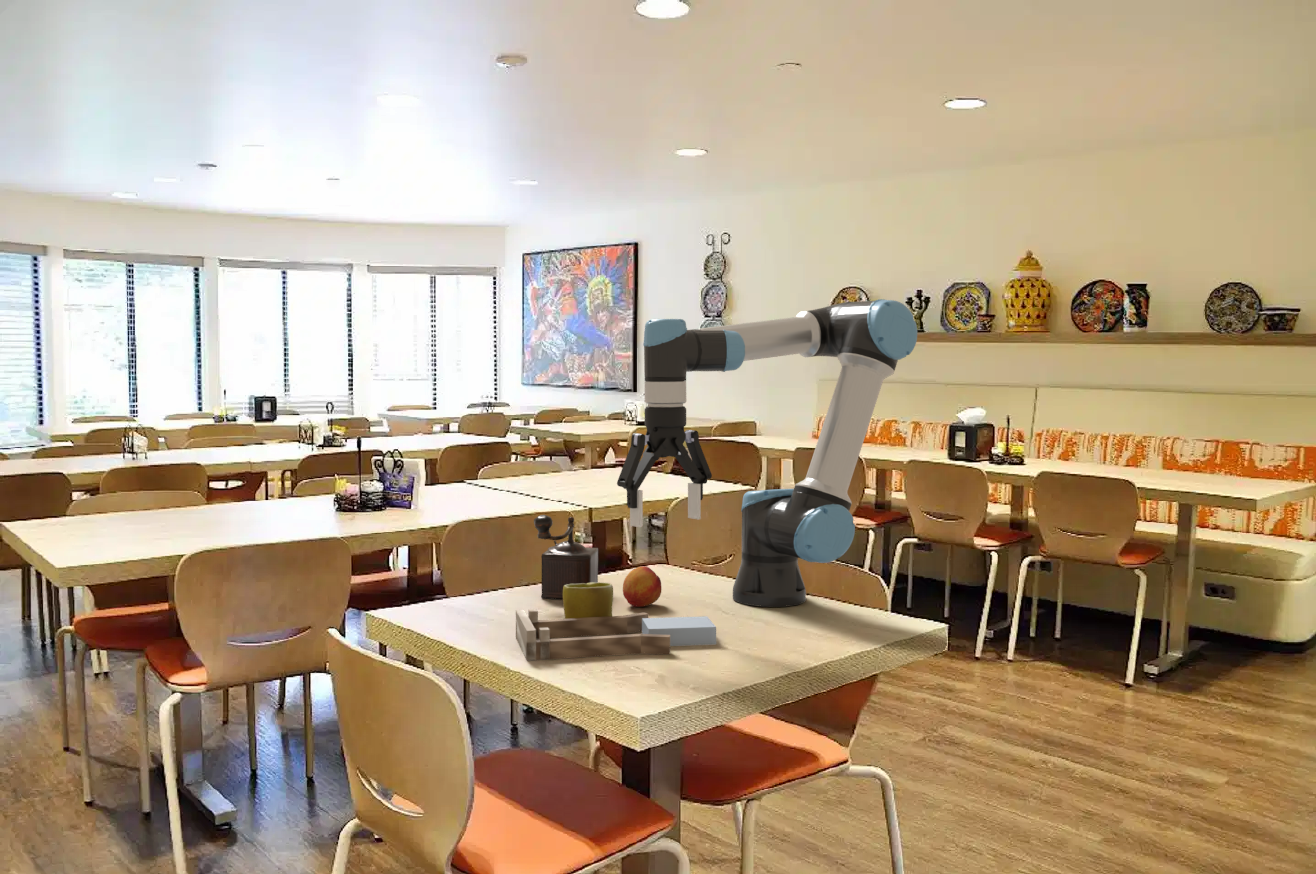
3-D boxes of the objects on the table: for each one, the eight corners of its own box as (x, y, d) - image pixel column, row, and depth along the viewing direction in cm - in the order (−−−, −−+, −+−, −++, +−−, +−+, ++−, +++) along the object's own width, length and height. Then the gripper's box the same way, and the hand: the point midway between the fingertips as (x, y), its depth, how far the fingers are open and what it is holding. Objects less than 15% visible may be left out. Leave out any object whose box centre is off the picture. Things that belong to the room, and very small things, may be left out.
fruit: (666, 609, 218) (666, 570, 217) (627, 611, 216) (627, 571, 215) (657, 601, 226) (657, 562, 225) (618, 602, 224) (618, 564, 223)
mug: (613, 626, 196) (600, 572, 198) (561, 640, 199) (548, 587, 200) (632, 623, 208) (619, 572, 210) (583, 637, 210) (570, 586, 212)
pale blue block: (706, 635, 200) (707, 616, 200) (716, 646, 192) (716, 626, 192) (641, 637, 198) (641, 618, 198) (648, 649, 190) (648, 629, 190)
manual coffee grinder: (549, 588, 237) (549, 506, 236) (599, 590, 236) (599, 507, 234) (530, 604, 222) (530, 516, 221) (584, 606, 220) (584, 517, 219)
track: (646, 628, 203) (646, 601, 202) (672, 654, 185) (672, 625, 185) (514, 635, 197) (514, 608, 196) (528, 663, 179) (528, 633, 179)
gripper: (703, 402, 207) (703, 513, 209) (596, 407, 192) (597, 527, 193) (730, 403, 202) (730, 517, 203) (622, 408, 186) (623, 532, 188)
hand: (665, 522), depth 198 cm, fingers open, 13 cm apart
